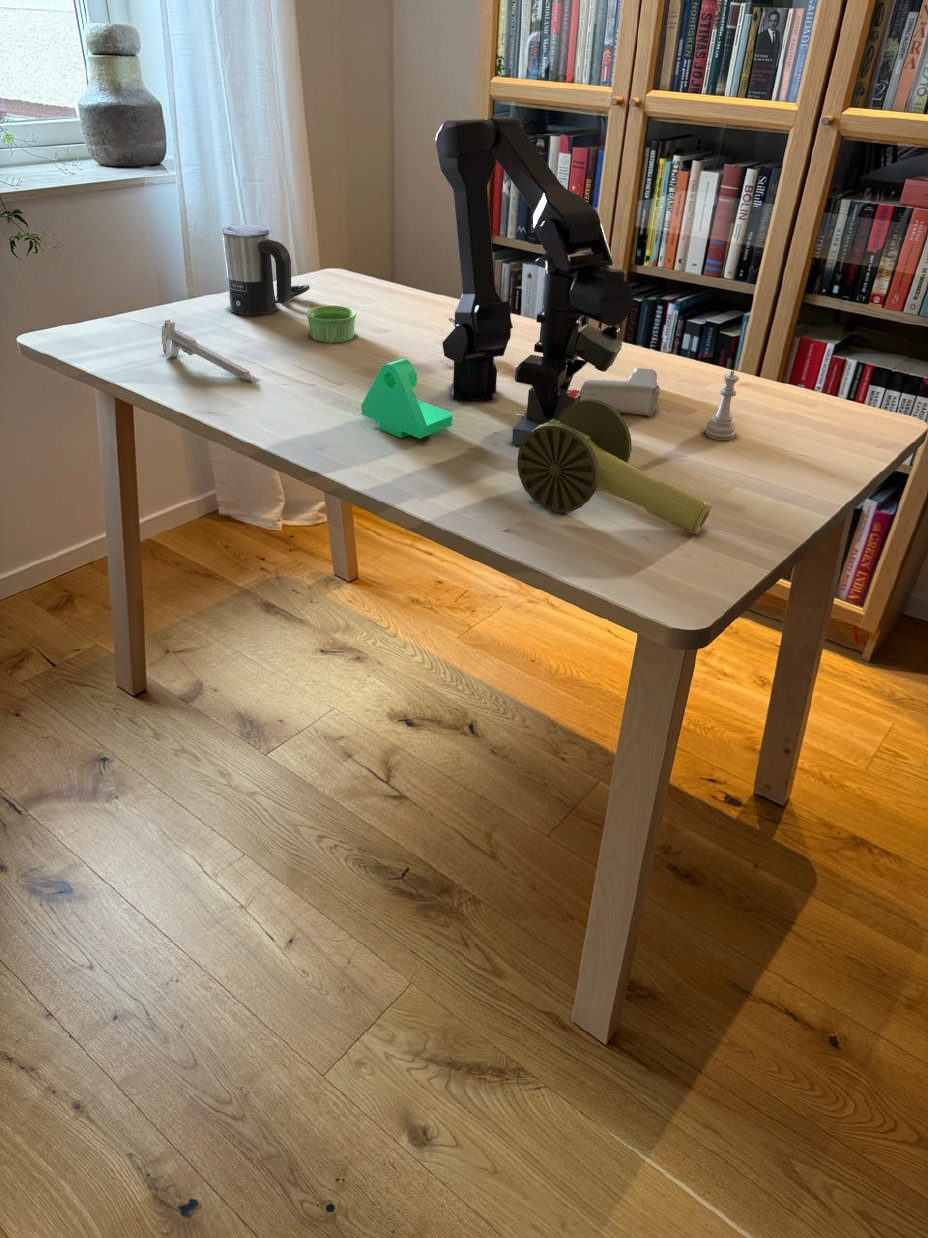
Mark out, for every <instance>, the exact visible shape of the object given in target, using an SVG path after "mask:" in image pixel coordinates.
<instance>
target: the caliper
mask: <svg viewBox="0 0 928 1238" xmlns="http://www.w3.org/2000/svg"><path fill="white" fill-rule="evenodd" d="M175 327H176V322H171V319H165V320H164V325H161V337H160V338H161V344H162V350H163V353H164V355H166V356H167V355H170V358H171V359H173V358H176V357H178V356H179V353H180V350H181V351H182V352H183V353H186V354H188V355H189V356H193V355H197V356H198V357H201V358H203V359H204V360H206V361H208V362H209V363H211V364H214V365H216V366H217V367H219V368H221V369H223V370H224V371H226V372H228V373H230V374H232V375H233V376H235V377H236V378H239V379H241V380H243V381H250V382H252V381H254V380H256V377H255V376H254V375H252V374H251V371H250V370H249V369H247V368H244V367H242V366H241V365H239V364H237V363H235V362H234V361H232V360H230V359H228V358H226V357H224V356H222V355H220V354H219V353H217V352H215V351H213V350H211V349H209V348H207V347H206V346H204V345H202V344H201V343H198V342H197V340H196V339H195V338H193V337H192V336H189V335H188V334H186V333H184V332H182V331H181V330H179V329H175Z"/></svg>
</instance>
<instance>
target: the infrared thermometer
mask: <svg viewBox="0 0 928 1238" xmlns="http://www.w3.org/2000/svg"><path fill="white" fill-rule="evenodd" d="M579 391H580V392H581V398H580V401H581V400H587V399H593V400H599V401H602V402H605V403H607V404H608V405H610V406H612V407H613V408H614V409H615V410H616V411H618V412H619V413H623V414H631V415H640V416H652V414H653V413H654V410H655V409H656V405H657V401H658V398H659V393H660V392H659V391H660V386H659V385H658V374H657V372H656V371H655V370H654V369H651V368H642V367H634V372H633V373H631V374H630V376H629V378H628V379H627V380H626V381H623V380H622V381H621V380H605V379H604V380H602V379H587V380H585V381H584V382H583V384H582V385H581V388H580V389H579Z"/></svg>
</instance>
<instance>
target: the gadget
mask: <svg viewBox="0 0 928 1238" xmlns="http://www.w3.org/2000/svg"><path fill="white" fill-rule="evenodd" d="M580 398H581V392H580V390H578V389H572V390H570V389H568V390H566V389H560V393H559V397H558V401H557V405H556V409H555V412H554V415H553V418H552V419H556V420H558V418H559V416H560V415H561V413H562V412H563V411H564V410H565V409H566V408H567V407H569V406H570V405H572V404H574V403H575V402H578V401H580ZM526 405H527V406H526V411H527V417H526V419H527V420H532V421H537V422H542V423H547V422H549V421H550V420H552V419H548V418H545V416H544V414H543V411H542V409H541V406H540V403H539V401H538V398H537V396H536V393H535V391H534V389H533V387H532V386H531V387H530V388H529V389H528V393H527V404H526Z"/></svg>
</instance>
